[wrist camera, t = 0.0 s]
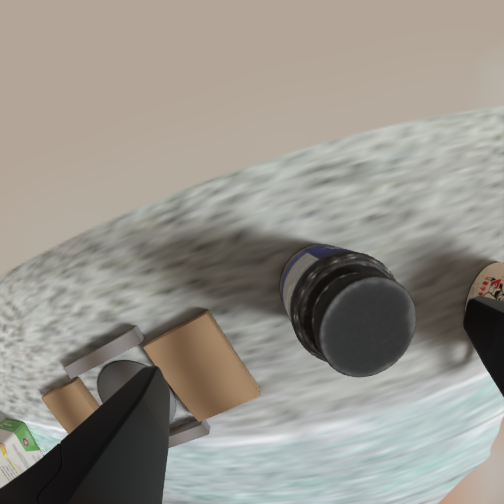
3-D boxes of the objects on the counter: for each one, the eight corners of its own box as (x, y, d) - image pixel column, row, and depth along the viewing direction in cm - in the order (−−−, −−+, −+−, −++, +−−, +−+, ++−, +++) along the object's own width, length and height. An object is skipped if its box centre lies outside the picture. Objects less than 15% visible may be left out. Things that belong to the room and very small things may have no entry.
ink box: (3, 417, 24) (-46, 460, 13) (25, 422, 24) (-26, 472, 13) (32, 465, 25) (-6, 512, 13) (55, 472, 25) (17, 524, 13)
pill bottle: (369, 269, 23) (450, 300, 12) (328, 334, 23) (380, 407, 12) (304, 227, 23) (353, 230, 12) (262, 297, 23) (273, 359, 12)
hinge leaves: (197, 291, 23) (194, 295, 22) (269, 401, 24) (269, 408, 23) (38, 380, 24) (32, 385, 22) (101, 459, 25) (97, 466, 23)
